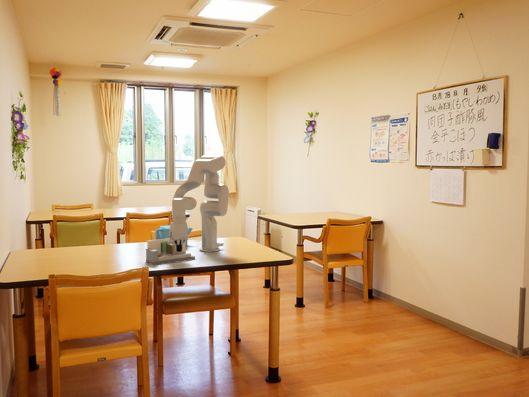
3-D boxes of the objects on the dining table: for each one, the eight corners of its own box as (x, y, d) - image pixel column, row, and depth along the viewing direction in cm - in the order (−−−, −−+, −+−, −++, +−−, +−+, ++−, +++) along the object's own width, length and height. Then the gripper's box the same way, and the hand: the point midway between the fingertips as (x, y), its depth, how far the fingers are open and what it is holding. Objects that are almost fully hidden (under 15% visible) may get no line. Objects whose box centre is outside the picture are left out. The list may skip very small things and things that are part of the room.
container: (152, 245, 335) (152, 222, 334) (188, 242, 347) (188, 220, 346) (159, 249, 320) (159, 225, 319) (196, 246, 332) (196, 223, 331)
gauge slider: (168, 256, 290) (168, 242, 289) (175, 258, 283) (175, 244, 283) (156, 257, 285) (156, 243, 284) (162, 260, 279) (162, 245, 278)
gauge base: (186, 256, 298) (186, 236, 297) (195, 259, 290) (194, 238, 289) (145, 261, 282) (145, 240, 281) (153, 264, 274) (153, 243, 273)
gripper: (187, 218, 293) (187, 249, 295) (164, 220, 284) (164, 251, 286) (193, 219, 287) (194, 250, 289) (169, 221, 278) (170, 254, 280)
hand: (179, 251), depth 287 cm, fingers closed
